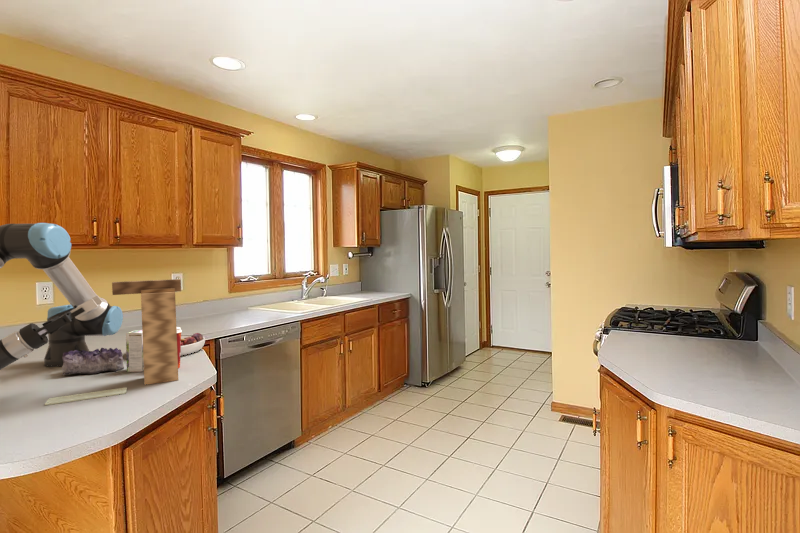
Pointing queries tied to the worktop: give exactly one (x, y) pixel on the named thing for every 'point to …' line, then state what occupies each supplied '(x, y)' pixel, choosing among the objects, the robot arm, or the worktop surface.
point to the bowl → (191, 343)
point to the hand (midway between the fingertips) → (97, 300)
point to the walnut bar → (144, 286)
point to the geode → (92, 361)
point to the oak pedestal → (159, 335)
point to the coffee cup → (178, 344)
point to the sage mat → (85, 396)
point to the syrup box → (134, 351)
